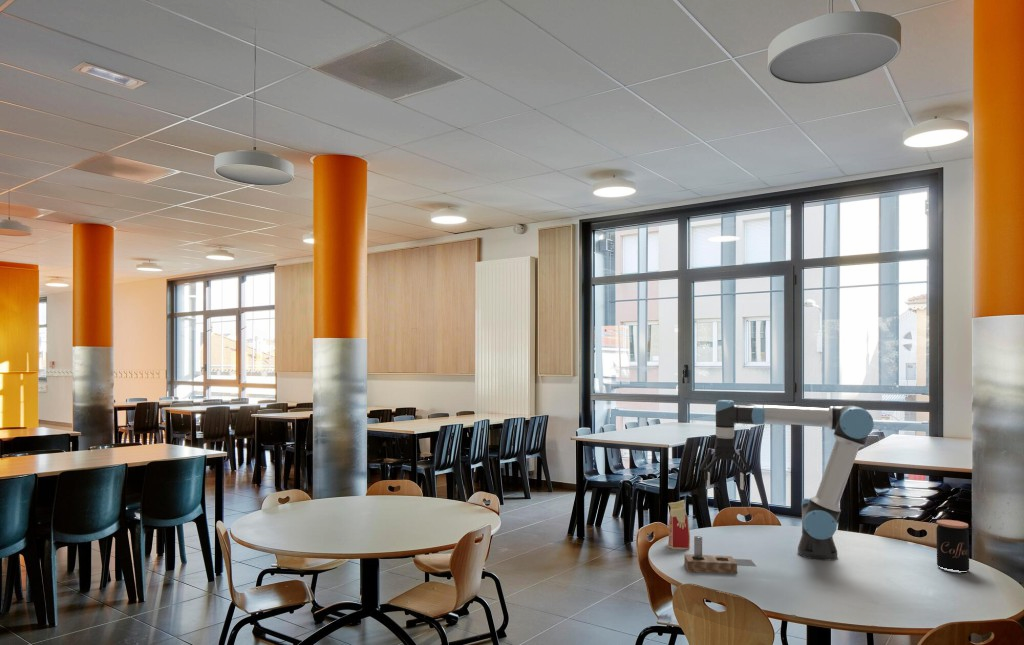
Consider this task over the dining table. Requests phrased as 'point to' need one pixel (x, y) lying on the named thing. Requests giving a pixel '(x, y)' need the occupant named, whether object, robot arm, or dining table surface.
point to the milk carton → (678, 527)
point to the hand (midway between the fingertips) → (725, 488)
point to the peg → (697, 548)
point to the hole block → (710, 564)
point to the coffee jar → (952, 545)
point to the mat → (744, 562)
